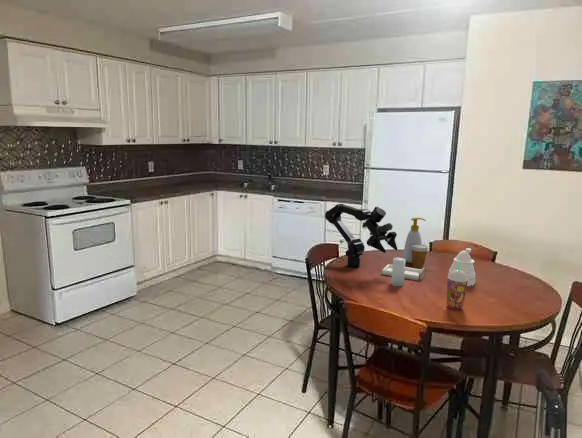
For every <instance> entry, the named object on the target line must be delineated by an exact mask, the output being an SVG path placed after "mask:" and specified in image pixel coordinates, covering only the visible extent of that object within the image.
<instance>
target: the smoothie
mask: <svg viewBox="0 0 582 438" xmlns="http://www.w3.org/2000/svg"><path fill="white" fill-rule="evenodd" d="M446 280H447V283H446V287H447V288H446V305H447V308H449V309H450V310H453V311H460V310H462V308H463V307H464V303H465V298H466V292H467V287H468V286H467V283H468V278H467V276H466V274H465V272H463V271H462V270H460V264H458V270H453V271H452V272H451V273H450V274H449V273H448V274H447V279H446Z"/></svg>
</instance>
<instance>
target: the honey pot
mask: <svg viewBox="0 0 582 438" xmlns="http://www.w3.org/2000/svg"><path fill="white" fill-rule="evenodd" d="M471 252H472V248H465V250H462V251H460V252H459V253H458V254H457V255H456V256H455V257H454V258H453V262H452V264H451V266H450V268H449V270H448V275H449V274H450V273H451V272H452V271H453V270H458V264H460V270H462V271H463V272H465V274H466V276H467V278H468V283H467V287H472V286H475V282H476V272H475V267H474V264H475V260H474V259H472V257H471V255H470V254H469V253H471ZM471 285H472V286H471Z"/></svg>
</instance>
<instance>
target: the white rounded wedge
mask: <svg viewBox="0 0 582 438" xmlns="http://www.w3.org/2000/svg"><path fill="white" fill-rule="evenodd" d="M406 263H407V262H406V259H404V258H403V257H393V258H392V265H393V269H392V276H391V282H390V283H391V285H392V286H395V287H403V286H404V285H405V278H404V274H405V267H406Z"/></svg>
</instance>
